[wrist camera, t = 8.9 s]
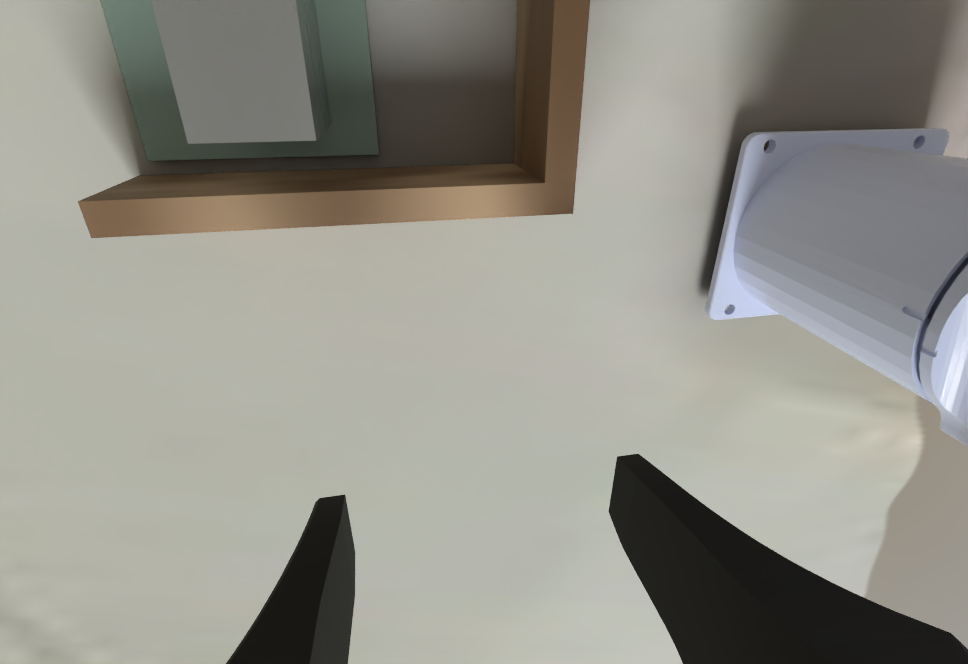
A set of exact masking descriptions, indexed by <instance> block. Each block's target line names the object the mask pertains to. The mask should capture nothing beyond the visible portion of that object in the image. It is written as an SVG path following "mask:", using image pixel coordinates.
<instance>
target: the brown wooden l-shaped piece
mask: <svg viewBox="0 0 968 664" xmlns="http://www.w3.org/2000/svg"><path fill="white" fill-rule="evenodd" d="M589 6H590V0H518V10H517V51H516V92H515V132H514V163H511V164H480V165H449V166H418V167H387V168H356V169H325V170H294V171H263V172H232V173H201V174H170V175H140V176H137V177H135V178H132V179H130V180H128V181H125V182H123V183H121V184H118V185H116V186H113V187H111V188H109V189H106V190H104V191H102V192H99V193H97V194H95V195H92V196H90V197H87V198H85V199H83V200H80V201H78V203H79V206H80V208H81V211H82V214H83V217H84V219H85V222H86V225H87V227H88V230H89V233H90V235H91V238H101V237H121V236H140V235H160V234H180V233H199V232H219V231H239V230H258V229H278V228H298V227H317V226H337V225H357V224H377V223H396V222H416V221H436V220H455V219H475V218H495V217H514V216H534V215H554V214H573V206H574V193H575V181H576V168H577V156H578V143H579V131H580V118H581V106H582V93H583V81H584V68H585V56H586V43H587V31H588V18H589Z"/></svg>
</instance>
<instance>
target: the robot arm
mask: <svg viewBox="0 0 968 664" xmlns="http://www.w3.org/2000/svg"><path fill="white" fill-rule="evenodd" d="M915 139H916V141H915ZM948 140H949V132H948V131H947V130H946V129H942V128H913V129H871V130H828V131H785V132H754V133H751V134H749V135H748V136H747V137H746V138H745V139H744V141H743V143H742V145H741V149H740V154H739V158H738V163H737V167H736V172H735V176H734V181H733V186H732V190H731V195H730V199H729V204H728V208H727V213H726V217H725V222H724V226H723V231H722V235H721V240H720V244H719V249H718V254H717V258H716V263H715V267H714V272H713V276H712V281H711V285H710V290H709V294H708V299H707V303H706V308H705V312H706V314H707V315H708V316H709V317H710V318H712V319H713V320H722V319H732V318H743V317H754V316H764V315H775V314H781V315H783V316H784V317H786V318H788V319H790V320H791V321H793V322H795V323H796V324H798V325H800V326H802V327H803V328H805V329H807V330H808V331H810V332H812V333H813V334H815V335H817V336H819V337H820V338H822V339H824V340H825V341H827V342H829V343H830V344H832V345H834V346H836V347H837V348H839V349H841V350H842V351H844V352H846V353H847V354H849V355H851V356H853V357H854V358H856V359H858V360H859V361H861V362H863V363H864V364H866V365H868V366H870V367H871V368H873V369H875V370H876V371H878V372H880V373H882V374H883V375H885V376H887V377H888V378H890V379H892V380H893V381H895V382H897V383H899V384H900V385H902V386H904V387H905V388H907V389H909V390H910V391H912V392H914V393H916V394H917V395H919V396H921V397H922V398H924V399H926V400H928V401H929V402H931V403H933V404H934V405H935V406H936V407H937V408H938V409H939V411H940V413H941V423H940V429H941V430H942V431H944V432H946V433H947V434H949V435H950V436H952V437H954V438H955V439H957V440H958V441H960V442H962V443H963V444H965V445H966V446H968V159H965V158H958V157H951V156H944V155H943V153H944V150H945V148H946V145H947V143H948ZM767 141H769V146H768V148H767V149H766V150H765V151H764V145H765V143H766V142H767ZM914 141H915V143H914ZM728 305H730V306H729V308H728V309H727V310H726V311H724V310H725V308H726V307H727V306H728ZM609 514H610V516H611V519H612V521H613V524H614V527H615V529H616V532H617V534H618V537H619V539H620V542H621V544H622V546H623V549H624V550H625V552H626V554H627V556H628V558H629V560H630V562H631V564H632V566H633V567H634V569H635V571H636V573H637V575H638V577H639V578H640V580H641V582H642V584H643V586H644V588H645V589H646V591H647V593H648V595H649V597H650V599H651V600H652V602H653V604H654V606H655V608H656V609H657V611H658V613H659V615H660V617H661V619H662V620H663V622H664V624H665V626H666V628H667V630H668V632H669V634H670V636H671V638H672V640H673V642H674V644H675V646H676V648H677V651H678V653H679V655H680V657H681V660H682V662H683V664H968V649H967V648H966V647H965V646H964V645H963V644H962V643H961V642H960V641H959V640H958V639H956V638H955V637H954V636H953V635H952V634H951V633H949V632H946V631H944V630H941V629H939V628H936V627H934V626H931V625H929V624H926V623H923V622H921V621H918V620H916V619H913V618H911V617H908V616H905V615H903V614H900V613H898V612H895V611H893V610H890V609H888V608H886V607H883V606H881V605H879V604H877V603H874V602H872V601H870V600H868V599H865V598H863V597H861V596H859V595H857V594H854V593H852V592H850V591H848V590H846V589H844V588H842V587H840V586H838V585H835V584H833V583H831V582H830V581H828V580H826V579H824V578H822V577H820V576H818V575H816V574H814V573H812V572H810V571H808V570H806V569H804V568H803V567H801V566H799V565H797V564H795V563H793V562H792V561H790V560H788V559H786V558H785V557H783V556H781V555H780V554H778V553H776V552H774V551H773V550H771V549H769V548H768V547H766V546H764V545H763V544H761V543H759V542H758V541H756V540H755V539H753V538H751V537H750V536H748V535H747V534H745V533H744V532H742V531H741V530H739V529H738V528H736V527H735V526H733V525H732V524H730V523H729V522H728V521H726V520H725V519H723V518H722V517H720V516H719V515H718V514H716V513H715V512H713V511H712V510H711V509H709V508H708V507H706V506H705V505H704V504H702V503H701V502H700V501H698V500H697V499H696V498H694V497H693V496H692V495H690V494H689V493H688V492H686V491H685V490H684V489H683V488H681V487H680V486H679V485H677V484H676V483H675V482H674V481H672V480H671V479H670V478H669V477H667V476H666V475H665V474H663V473H662V472H661V471H660V470H658V469H657V468H656V467H655V466H653V465H652V464H651V463H650V462H648V461H647V460H646V459H644V458H643V457H642V456H640V455H639V454H634V455H626V456H619V457H617V462H616V468H615V475H614V481H613V488H612V494H611V500H610V507H609ZM354 598H355V549H354V543H353V538H352V532H351V526H350V520H349V515H348V509H347V503H346V497H345V495H340V496H333V497H325V498H320V499H319V500H318V501H317V502H316V503H315V505H314V508H313V511H312V513H311V516H310V518H309V520H308V523H307V525H306V527H305V530H304V532H303V534H302V536H301V538H300V540H299V542H298V545H297V547H296V549H295V551H294V553H293V554H292V556H291V558H290V560H289V562H288V564H287V566H286V568H285V570H284V572H283V574H282V576H281V577H280V579H279V581H278V583H277V585H276V586H275V588H274V590H273V591H272V593H271V595H270V596H269V598H268V600H267V602H266V603H265V605H264V607H263V608H262V610H261V612H260V613H259V615H258V617H257V618H256V620H255V621H254V623H253V625H252V626H251V628H250V629H249V631H248V632H247V634H246V635H245V637H244V638H243V640H242V641H241V643H240V644H239V646H238V647H237V649H236V650H235V652H234V653H233V655H232V656H231V657H230V659H229V660H228V662H227V663H226V664H348V655H349V645H350V636H351V627H352V617H353V608H354Z"/></svg>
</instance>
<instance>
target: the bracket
mask: <svg viewBox="0 0 968 664" xmlns="http://www.w3.org/2000/svg"><path fill="white" fill-rule="evenodd" d="M151 2H152V6H153V10H154V14H155V18H156V22H157V26H158V30H159V33H160V37H161V41H162V45H163V49H164V53H165V57H166V61H167V64H168V68H169V72H170V76H171V80H172V84H173V88H174V92H175V95H176V99H177V103H178V107H179V111H180V115H181V119H182V123H183V126H184V130H185V134H186V138H187V142H188V144H198V143H239V142H280V141H316V140H317V139H318V138H319V137H320V136H321V135H322V134H323V133H324V132H325V130H326V129H327V128H328V127H329V126H330V125H331V117H330V110H329V102H328V95H327V87H326V80H325V72H324V64H323V57H322V49H321V42H320V34H319V27H318V19H317V11H316V4H315V0H151Z"/></svg>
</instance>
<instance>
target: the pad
mask: <svg viewBox="0 0 968 664" xmlns="http://www.w3.org/2000/svg"><path fill="white" fill-rule="evenodd" d="M100 1H101V5H102V8H103V11H104V15H105V18H106V22H107V25H108V28H109V32H110V35H111V39H112V42H113V45H114V49H115V52H116V55H117V59H118V62H119V66H120V69H121V72H122V76H123V79H124V82H125V86H126V89H127V93H128V96H129V99H130V103H131V106H132V110H133V113H134V116H135V120H136V123H137V126H138V130H139V133H140V137H141V140H142V143H143V147H144V150H145V154H146V157H147V160H148V161H160V160H196V159H232V158H268V157H304V156H340V155H376V154H379V146H378V135H377V124H376V114H375V103H374V92H373V81H372V70H371V59H370V49H369V38H368V27H367V16H366V5H365V0H315V4H316V11H317V19H318V27H319V34H320V42H321V49H322V57H323V64H324V72H325V80H326V87H327V95H328V102H329V110H330V117H331V125H330V126H329V127H328V128H327V129H326V130H325V132H324V133H323V134H322V135H321V136H320V137H319V138H318V139H317V140H316V141H280V142H239V143H198V144H188V142H187V138H186V134H185V130H184V126H183V123H182V119H181V115H180V111H179V107H178V103H177V99H176V95H175V92H174V88H173V84H172V80H171V76H170V72H169V68H168V64H167V61H166V57H165V53H164V49H163V45H162V41H161V37H160V33H159V30H158V26H157V22H156V18H155V14H154V10H153V6H152V2H151V0H100Z"/></svg>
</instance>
